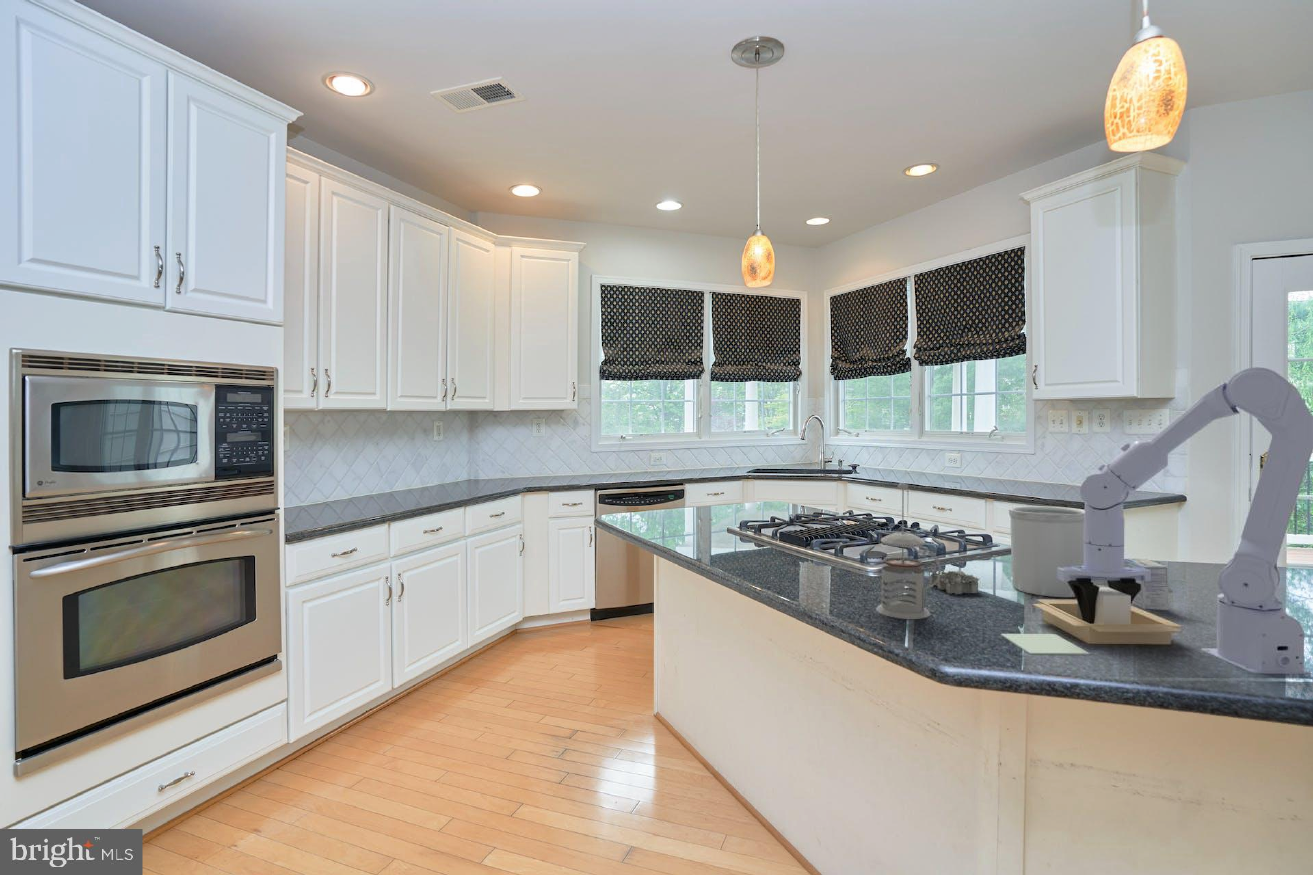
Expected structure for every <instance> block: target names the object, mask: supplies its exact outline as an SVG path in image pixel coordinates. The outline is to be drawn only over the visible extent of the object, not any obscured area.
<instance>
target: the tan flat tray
mask: <svg viewBox="0 0 1313 875" xmlns="http://www.w3.org/2000/svg"><path fill="white" fill-rule="evenodd" d="M1036 601H1037V602H1038V603H1032V606H1033V607H1035V608H1037V609H1039V610H1041V611H1042V620H1044V621H1045V622H1047V623H1049V624H1051V625H1053V626H1055V627H1057V629H1060V630H1062V631H1064V632H1066V633H1067V634H1070V635H1071V636H1074V637H1075V638H1077V639H1079V640H1081V641H1083V642H1085V643H1086V644H1087V645H1093V644H1094V645H1171V644H1172V633H1179V634H1180V633H1183V631H1182V630H1180V629H1183V627H1184V626H1183V625H1180V624H1179V623H1178V624H1177V623H1175V622H1173V621H1172V620H1168V619H1165V618H1163V617H1161V616H1158V615H1156V614H1153V613H1151V612H1148V611H1145V610H1143V609H1142V608H1141V609H1140V608H1138V607H1136V606H1133V605H1131V624H1088V623H1086V622H1084V621H1082V620H1080V619H1078V618H1077V599H1054V598H1053V599H1051V598H1049V599H1047V598H1046V599H1045V598H1044V599H1043V598H1041V599H1040V598H1039V599H1036Z"/></svg>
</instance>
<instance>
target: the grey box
mask: <svg viewBox="0 0 1313 875" xmlns="http://www.w3.org/2000/svg"><path fill="white" fill-rule="evenodd" d="M1095 585H1096V584H1095ZM1096 586H1098V587H1099V591H1098V594H1097V598H1096V604H1095V621H1094V624H1131V606H1132V603H1131V596H1130V595H1127V594H1125V593H1122V592H1119V591H1117V590H1114V589H1111V588H1109V586H1106V585H1102V584H1100V585H1099V584H1098V585H1096ZM1077 618H1078V619H1080V620H1082V621H1083V619H1082V615H1081V611H1080V608H1079V604H1078V602H1077ZM1084 622H1085V621H1084ZM1086 623H1087V622H1086ZM1088 624H1089V623H1088Z"/></svg>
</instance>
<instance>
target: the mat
mask: <svg viewBox="0 0 1313 875" xmlns="http://www.w3.org/2000/svg"><path fill="white" fill-rule="evenodd" d="M1000 636H1002V637H1003V638H1005V639H1006V640H1008V641H1009V642H1011V643H1012V644H1013V645H1015V646H1016V647H1018V648H1020V649H1021V650H1022V651H1024V652H1026V653H1027V654H1029V655H1045V656H1046V655H1049V656H1050V655H1052V656H1053V655H1055V656H1056V655H1061V656H1062V655H1067V656H1069V655H1070V656H1071V655H1072V656H1073V655H1074V656H1076V655H1079V656H1083V655H1084V656H1085V655H1087V656H1088V655H1090V652H1088V651H1086V650H1085V649H1083V648H1081V647H1079V646H1077V645H1076V644H1074V643H1072V642H1070V641H1068V640H1066V639H1065V638H1063V637H1061V636H1059V635H1057V634H1056V633H1000Z"/></svg>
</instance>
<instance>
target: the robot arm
mask: <svg viewBox="0 0 1313 875" xmlns="http://www.w3.org/2000/svg"><path fill="white" fill-rule="evenodd" d="M1237 408H1238V409H1240V410H1242V411H1244V412H1245V413H1247V414H1249V415H1251V416H1253V417H1254V418H1256V419H1257V421H1258V422H1259V424H1261V425H1262V426H1263V427H1264V428H1265V429H1266V430H1267V432H1269V433H1270V434H1271V440H1270V444H1269V447H1268V449H1267V453H1266V456H1265V460H1264V462H1263V466H1262V469H1261V471H1260V475H1259V478H1258V481H1257V485H1256V488H1255V491H1254V494H1253V498H1252V501H1251V504H1250V507H1249V510H1248V512H1247V513H1248V514H1247V516H1246V520H1245V523H1244V526H1243V529H1242V533H1241V536H1240V538H1239V541H1238V544H1237V547H1236V549H1235V552H1234V555H1233V558H1231V559H1230V560H1229V561H1228V562H1227V563H1226V565H1225V567H1224V568H1222V569H1221V571H1220V572H1219V574H1218V577H1217V586H1218V588H1219V590H1220V592H1221V593H1219V594H1217V595H1216V600H1217V601H1216V606H1217V607H1216V648H1206V647H1205V648H1201V649H1200V651H1201V652H1203V653H1205V654H1208V655H1210V656H1212V657H1215V658H1217V659H1219V660H1222V661H1223V662H1226V663H1228V664H1231V665H1232V666H1236V667H1239V668H1241V669H1242V670H1244V671H1247V672H1249V673H1251V674H1265V675H1266V674H1270V675H1271V674H1274V675H1275V674H1276V675H1277V674H1278V675H1279V674H1281V675H1284V674H1287V675H1291V674H1292V675H1293V674H1294V675H1295V674H1296V675H1297V674H1298V675H1303V674H1304V675H1310V674H1311V673H1310V670H1307V669H1305V668H1304V667H1305V666H1304V665H1305V663H1304V662H1305V661H1304V660H1305V632H1304V629H1303V628H1304V627H1303V625H1302V624H1301V623H1300V621H1299V620H1298V619H1296V618H1295V617H1293V616H1290V615H1288V614H1287V613H1286V612H1285V610H1284V609H1283V602H1282V601H1281V600H1279V598H1278V597H1276V592H1277V588H1278V587H1279V584H1280V581H1281V576H1280V571H1279V569H1278V559H1279V556H1280V553H1281V549H1282V546H1283V543H1284V539H1285V536H1286V533H1287V530H1288V528H1289V524H1290V521H1291V518H1292V517H1293V513H1294V508H1295V507H1296V506H1295V505H1296V503H1297V500H1298V497H1299V494H1300V490H1301V488H1302V484H1303V481H1304V478H1305V475H1306V473H1307V469H1308V466H1309V463H1310V460H1311V457H1312V455H1313V414H1312V412H1311V411H1310V409H1309V407H1308V405H1307V404H1306V402H1305V400H1304V399H1303V397H1302V395H1301V392H1299V390H1298V388H1297V387H1296V386H1295V385H1293V384H1292V383H1290V381H1289V380H1287V379H1286V378H1285V377H1283V376H1282V375H1280V374H1279V373H1277V372H1276V371H1274V370H1272V369H1270V368H1266V367H1258V366H1257V367H1249V368H1245V369H1242V370H1240V371H1238V372H1236V373H1234V374H1233V376H1231V377H1230V379H1229V380H1228V382H1221V383H1220V384H1218V385H1217V386H1215V387H1214V388H1212V389H1211V390H1210V391H1208V392H1207V393H1205V394H1204V395H1203V396H1201V397H1200V398H1199V399H1197V400H1196V401H1195V402H1194V403H1192V405H1190V406H1189V407H1188V408H1186V409H1185V410H1184V411H1183V412H1182V413H1181V414H1180V415H1178V416H1177V417H1176V418H1175V419H1174V420H1173V421H1171V422H1170V423H1169V424H1168V425H1167V426H1166V427H1164V428H1163V429H1162V430H1161V431H1160V432H1158V434H1156V435H1155V436H1154V437H1153V438H1152V439H1150V440H1136V441H1134V442H1133V443H1132V444H1131V443H1125V444H1124V445H1122V446H1121V448H1120V450H1121V453H1119V454H1118V455H1117V456H1116V457H1115V458H1113V459H1112V460H1111V461H1109V462H1108V463H1107V464H1101V465H1100V466H1099V467H1098V468H1097V470H1098V471H1099V472H1100V473H1094V474H1089V475H1088V476H1087V477H1086V478H1085V480H1084V481H1083V482H1082V484H1081V485H1080V489H1079V493H1080V496H1081V499H1082V500H1083V501H1084V510H1085V515H1084V566H1075V567H1065V568H1057V579H1060V580H1062V581H1067V582H1068V584H1069V586H1070V587H1071V589H1072V591H1073V593H1074V595H1075V597H1074V598H1075V600H1077V602H1078V604H1079V608H1080V611H1081V615H1082V619H1083V621H1085V622H1087V623H1089V624H1094V621H1095V604H1096V598H1097V594H1098V591H1099V587H1098V586H1096V584H1094V581H1106V582H1107V585H1108V586H1107V587H1109V588H1111V589H1114V590H1117V591H1119V592H1122V593H1125V594H1127V595H1130V596H1131V604H1133V603H1132V601H1133V600H1134V598H1135V597H1136V595H1137V594H1138V593H1139V592H1140V590H1141V584H1139V583H1136V580H1142V581H1151V570H1148V569H1145V568H1132V567H1124V559H1125V516H1124V502H1126V500H1127V499H1128V497H1129V495H1130V492H1135V491H1137V489H1139V488H1140V487H1141V486H1143V485H1144V484H1145V483H1147V482H1148V481H1150V480H1151V479H1152V478H1153V477H1155V476H1156V475H1157V474H1158V473H1160V472H1161V471H1162V470H1164V469H1165V468H1167V467H1168V464H1169V460H1168V458H1169V454H1170V453H1171V452H1173V451H1174V450H1175V449H1177V448H1178V447H1179V446H1181V445H1182V444H1183V443H1185V442H1186V441H1187V440H1189V439H1190V438H1192V437H1194V436H1195V435H1196V434H1197V433H1198V432H1200V431H1201V430H1203V429H1204V428H1205V427H1207V426H1208V425H1209V424H1211V423H1212V422H1214V421H1216V420H1219V419H1223V418H1228V417H1232V416H1235V415H1240V411H1239V410H1238V409H1237ZM1092 581H1093V582H1092Z"/></svg>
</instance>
